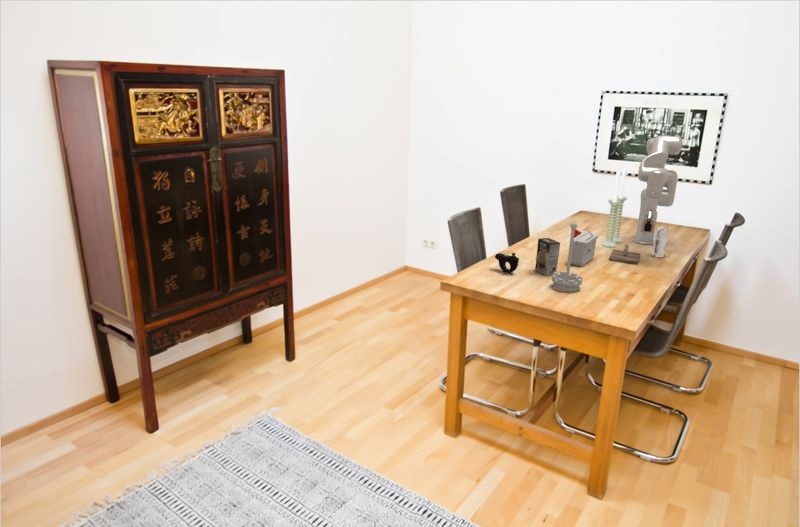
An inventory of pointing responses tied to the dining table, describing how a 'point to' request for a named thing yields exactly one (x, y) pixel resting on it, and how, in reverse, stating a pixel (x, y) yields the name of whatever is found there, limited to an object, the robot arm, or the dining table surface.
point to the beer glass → (659, 241)
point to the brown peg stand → (625, 256)
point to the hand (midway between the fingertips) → (647, 229)
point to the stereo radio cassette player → (583, 248)
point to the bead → (651, 227)
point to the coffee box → (547, 256)
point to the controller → (507, 258)
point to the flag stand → (568, 269)
